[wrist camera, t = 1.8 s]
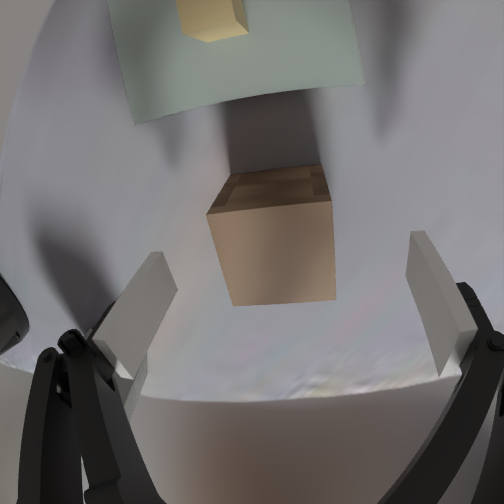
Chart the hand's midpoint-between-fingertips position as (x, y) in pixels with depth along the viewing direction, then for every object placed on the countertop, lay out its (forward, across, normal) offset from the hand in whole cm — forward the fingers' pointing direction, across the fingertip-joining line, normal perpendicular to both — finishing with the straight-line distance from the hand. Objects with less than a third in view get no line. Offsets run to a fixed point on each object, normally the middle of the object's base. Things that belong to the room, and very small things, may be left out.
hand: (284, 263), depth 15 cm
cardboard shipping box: (+6, 0, 0) cm, 6 cm away
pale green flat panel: (+6, -2, +13) cm, 15 cm away
